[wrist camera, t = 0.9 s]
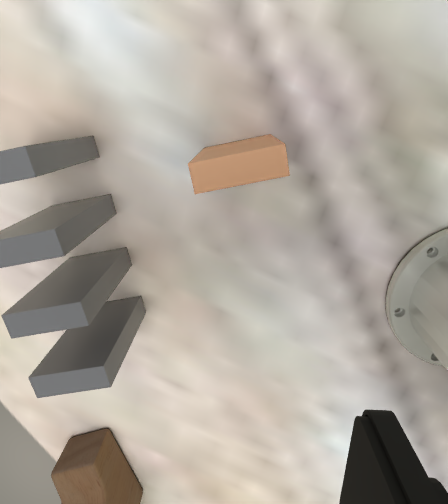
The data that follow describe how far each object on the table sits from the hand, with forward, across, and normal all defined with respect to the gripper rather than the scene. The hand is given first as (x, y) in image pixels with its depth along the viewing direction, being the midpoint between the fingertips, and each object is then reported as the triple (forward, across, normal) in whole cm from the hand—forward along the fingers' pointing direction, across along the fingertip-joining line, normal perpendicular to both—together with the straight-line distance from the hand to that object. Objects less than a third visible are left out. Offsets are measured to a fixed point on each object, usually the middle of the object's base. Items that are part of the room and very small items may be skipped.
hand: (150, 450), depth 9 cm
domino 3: (+24, +9, +5) cm, 26 cm away
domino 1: (+24, +11, -4) cm, 26 cm away
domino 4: (+24, +8, +9) cm, 27 cm away
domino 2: (+24, +10, 0) cm, 26 cm away
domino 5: (+24, -2, -4) cm, 24 cm away
